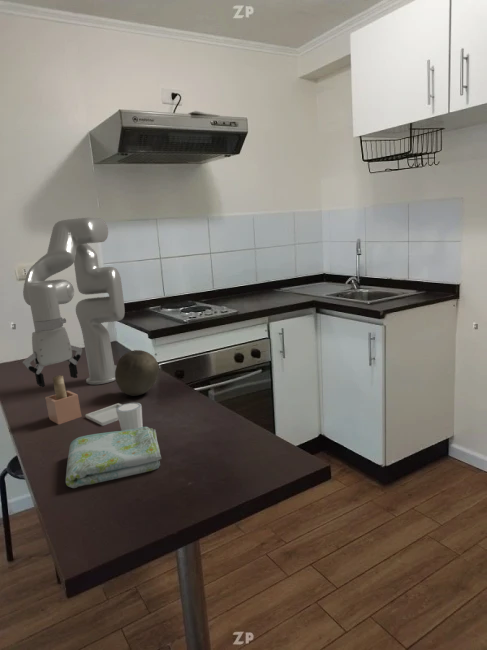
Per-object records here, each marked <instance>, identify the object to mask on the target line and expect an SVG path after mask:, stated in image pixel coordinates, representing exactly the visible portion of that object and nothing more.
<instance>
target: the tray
mask: <svg viewBox="0 0 487 650" xmlns="http://www.w3.org/2000/svg"><path fill="white" fill-rule="evenodd" d="M121 405H123V404H122V403H119V402H118V403H115V404H112V405H109V406H106V407H103V408H101V409H97V410H95V411H92V412H89V413H86V414H85V418H86V419H88V420H90V421H92V422H94V423H96V424H98V425H100V426H101V427H102V426H106V425H110V424H112V423H115V422H117V421H119V419H118V416H117V412H116V408H117V407H119V406H121Z"/></svg>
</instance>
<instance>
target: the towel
mask: <svg viewBox="0 0 487 650" xmlns="http://www.w3.org/2000/svg"><path fill="white" fill-rule="evenodd" d="M156 431H157V430H156V429H153V427H152V428H150V427H148V426H143V427H141V428H137V429H130V430H124V431H121V430H116V431H108V432H100V433H99V432H98V433H93V434H87V435H82V436H79V437H77V438H75V439H73V440H72V441H71V442H70V445H69V449H68V450H69V451H68V457H67V462H66V463H67V464H66V473H65V484H66V486H67V487H69V488H72V489H77V488H79V487H83V486H89V485H94V484H99V483H103V482H107V481H112V480H117V479H121V478H126V477H129V476H134V475H139V474H144V473H147V472H153V471H155V470H158V469H160V468H159V467H160V466H161V462H160V460H162V455H161V450H160V446H159V443H158V438H157V432H156Z"/></svg>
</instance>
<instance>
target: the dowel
mask: <svg viewBox="0 0 487 650" xmlns="http://www.w3.org/2000/svg"><path fill="white" fill-rule="evenodd" d="M64 379H65V378H64V374H63V375H62V374H61V375H60V374H59V375H54V376H53V377H52V383H53V388H54V392H55V394H56V399H57V400H59V399H63V398H66V397H67V394H66V391H67V390H66V384H65V380H64ZM55 394H54V395H55Z"/></svg>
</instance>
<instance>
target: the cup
mask: <svg viewBox="0 0 487 650" xmlns="http://www.w3.org/2000/svg"><path fill="white" fill-rule="evenodd" d="M66 394H67V397H66V398H63V399H59V400H57V399H56V394H52V395H49V396H45V398H44V399H45V402H46V403H45V404H46V408H47V415H48V418H49V421H52V422H53V423H55V424H57V425H62V424H64V423H68V422H70V421H73V420H76V419H79V418H81V417H83V416H82V411H81V406H80V400H79V395H78V394H77V393H75V392H73V391H71V390H66Z"/></svg>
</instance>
